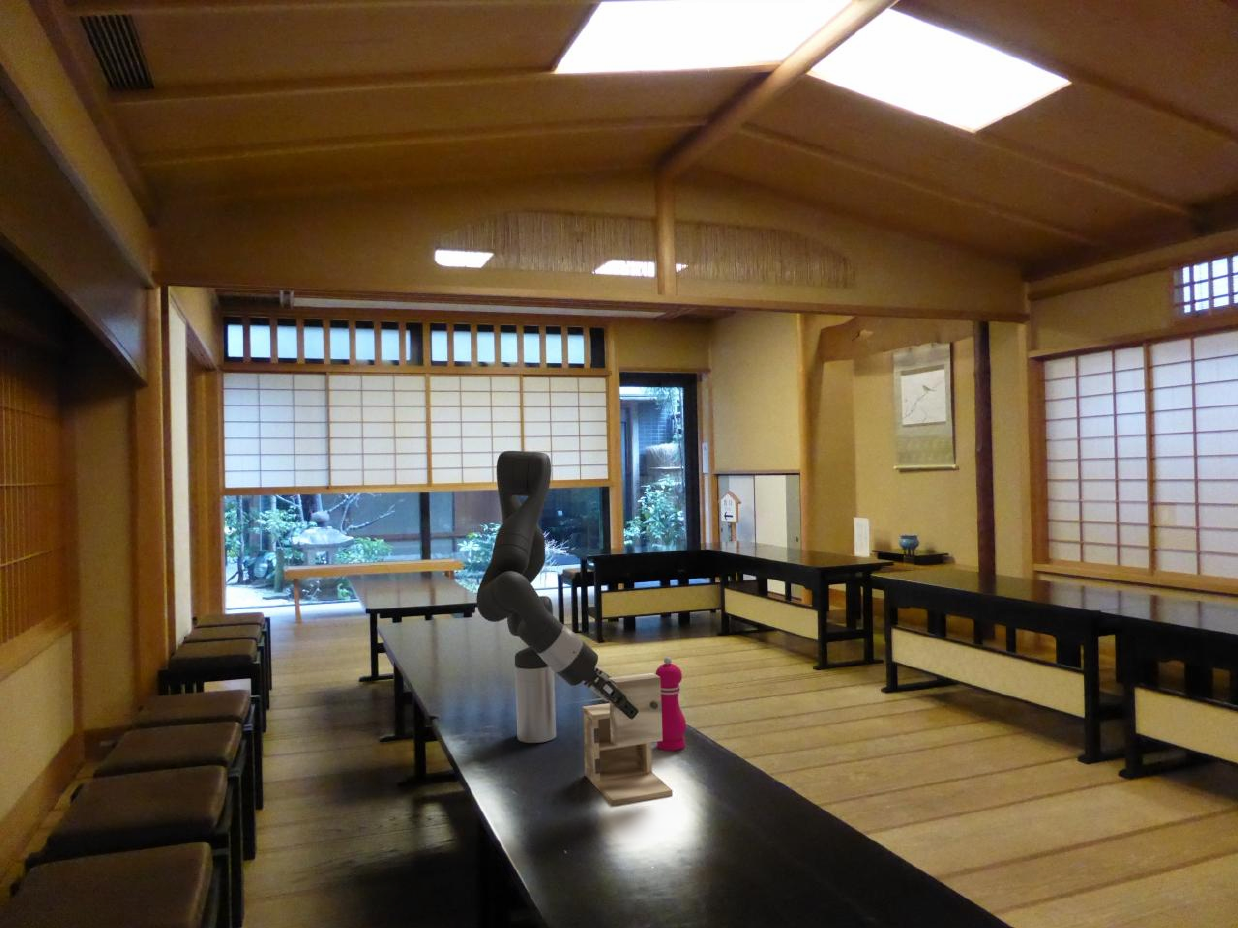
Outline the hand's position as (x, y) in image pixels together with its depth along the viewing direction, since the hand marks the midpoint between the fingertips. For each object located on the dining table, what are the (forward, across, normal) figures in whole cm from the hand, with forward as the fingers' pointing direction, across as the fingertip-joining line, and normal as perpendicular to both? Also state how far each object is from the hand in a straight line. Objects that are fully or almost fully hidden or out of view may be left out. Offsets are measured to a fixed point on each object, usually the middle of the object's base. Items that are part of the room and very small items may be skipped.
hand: (630, 711), depth 157 cm
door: (+5, 0, +3) cm, 6 cm away
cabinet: (+12, +7, +11) cm, 18 cm away
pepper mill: (+24, +24, -2) cm, 35 cm away
